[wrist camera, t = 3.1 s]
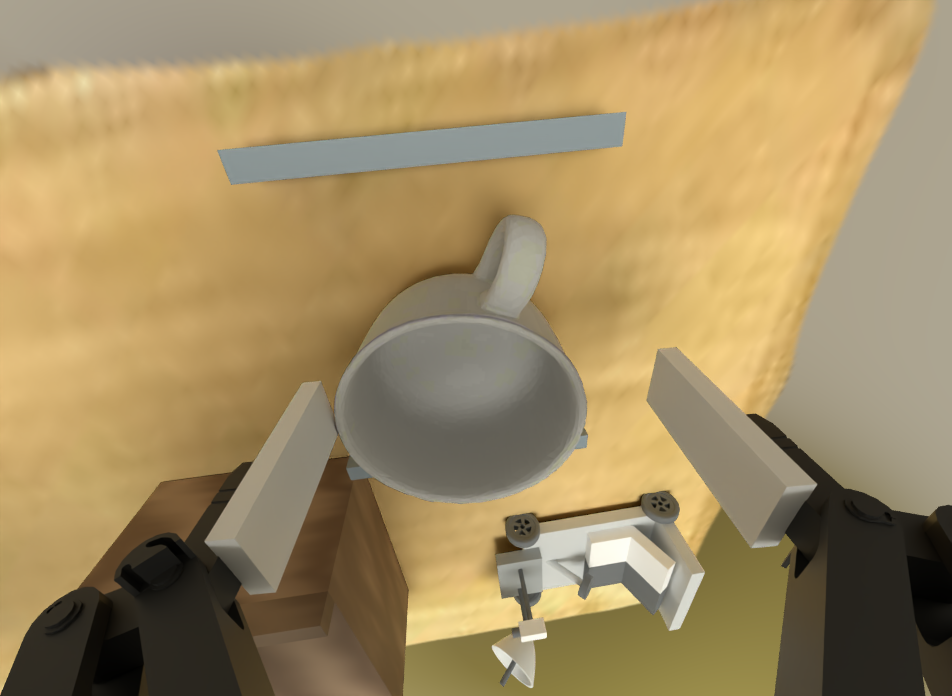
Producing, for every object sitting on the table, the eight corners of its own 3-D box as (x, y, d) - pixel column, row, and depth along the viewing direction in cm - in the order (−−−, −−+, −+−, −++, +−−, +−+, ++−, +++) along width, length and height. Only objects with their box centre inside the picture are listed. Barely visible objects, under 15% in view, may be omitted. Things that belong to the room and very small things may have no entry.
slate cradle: (357, 451, 26) (350, 480, 23) (246, 148, 16) (217, 150, 13) (574, 422, 26) (586, 447, 24) (601, 115, 16) (626, 112, 14)
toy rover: (501, 708, 30) (488, 654, 23) (485, 582, 38) (473, 517, 32) (709, 670, 30) (749, 607, 24) (648, 554, 38) (667, 485, 32)
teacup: (488, 424, 26) (507, 528, 19) (340, 374, 22) (299, 479, 16) (608, 255, 20) (697, 318, 13) (433, 152, 17) (431, 165, 10)
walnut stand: (269, 611, 36) (214, 771, 27) (161, 482, 25) (10, 674, 16) (408, 590, 36) (400, 739, 27) (359, 455, 26) (320, 625, 17)
